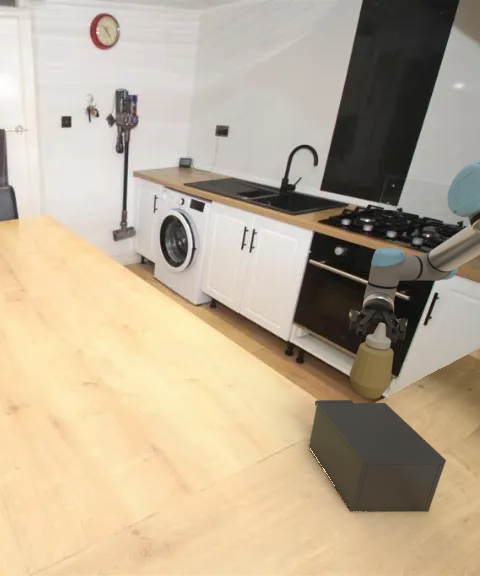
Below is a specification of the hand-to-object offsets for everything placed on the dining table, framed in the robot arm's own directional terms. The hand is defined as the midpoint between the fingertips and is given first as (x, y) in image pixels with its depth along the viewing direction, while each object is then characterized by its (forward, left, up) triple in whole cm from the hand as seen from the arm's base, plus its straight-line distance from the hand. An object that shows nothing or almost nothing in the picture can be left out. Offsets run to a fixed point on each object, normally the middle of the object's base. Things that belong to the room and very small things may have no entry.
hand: (375, 342), depth 100 cm
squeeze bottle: (+5, +5, -10) cm, 13 cm away
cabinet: (+26, +27, -10) cm, 39 cm away
